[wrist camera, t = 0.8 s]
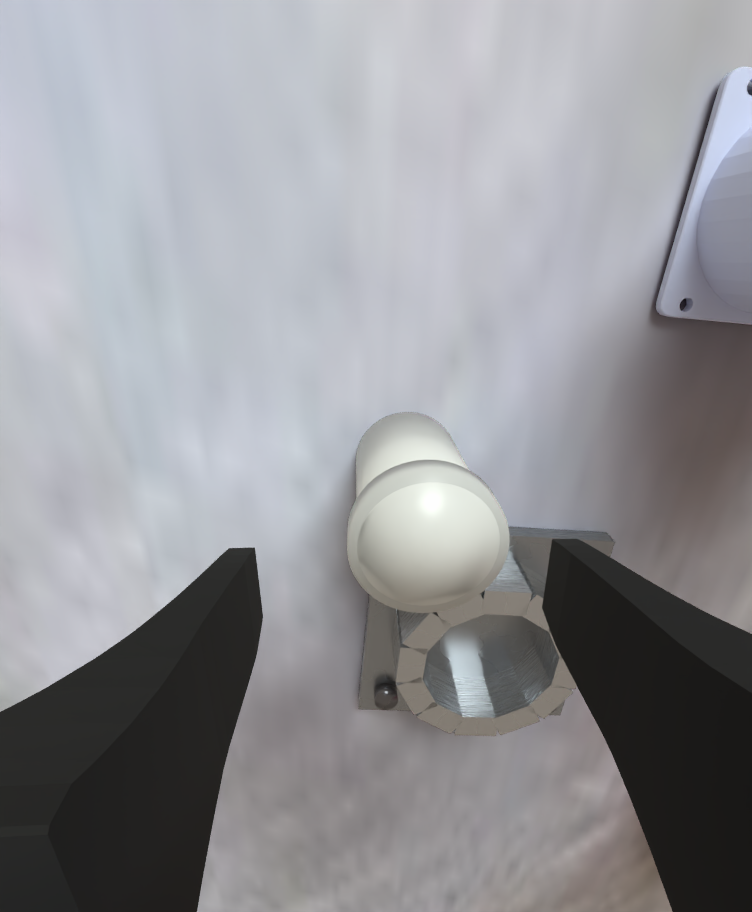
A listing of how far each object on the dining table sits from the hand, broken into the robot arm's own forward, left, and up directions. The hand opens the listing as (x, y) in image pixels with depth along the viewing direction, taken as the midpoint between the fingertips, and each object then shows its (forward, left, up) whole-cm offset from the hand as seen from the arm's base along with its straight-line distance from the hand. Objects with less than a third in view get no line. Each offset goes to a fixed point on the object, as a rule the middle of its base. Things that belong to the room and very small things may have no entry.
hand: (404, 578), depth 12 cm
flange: (-6, +9, -10) cm, 15 cm away
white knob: (-1, +1, -10) cm, 10 cm away
